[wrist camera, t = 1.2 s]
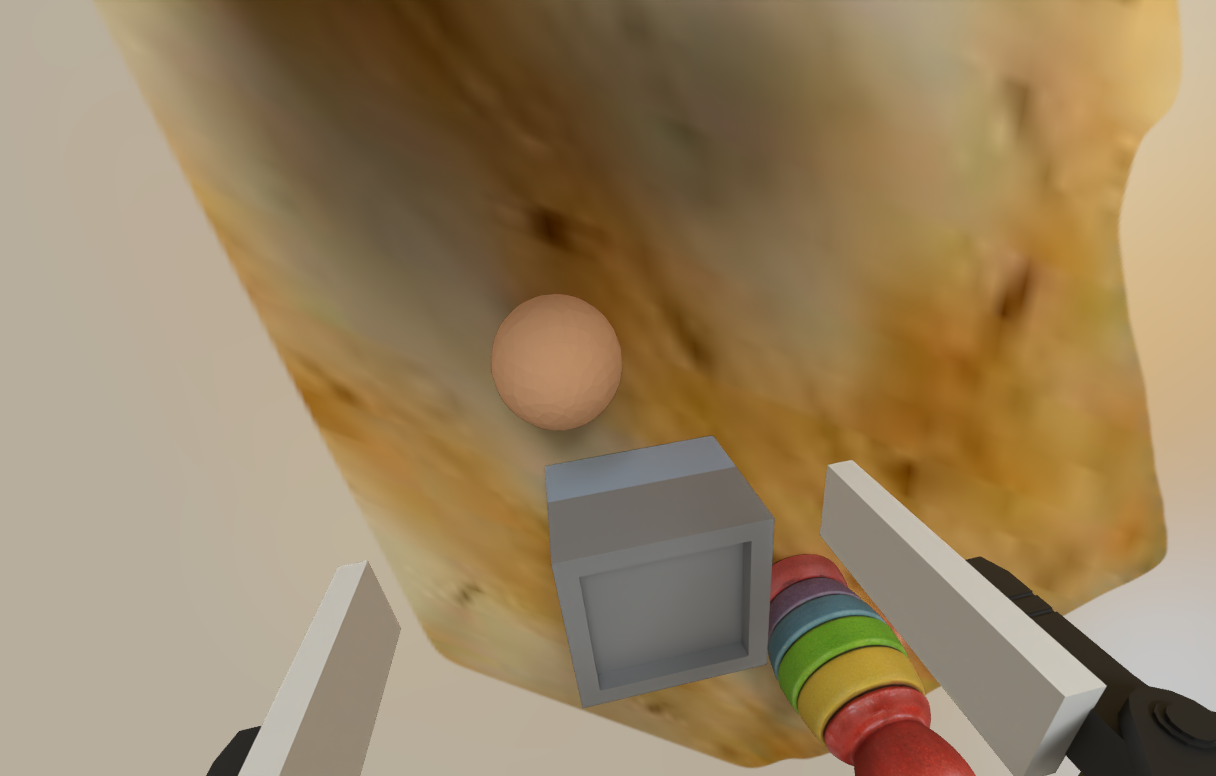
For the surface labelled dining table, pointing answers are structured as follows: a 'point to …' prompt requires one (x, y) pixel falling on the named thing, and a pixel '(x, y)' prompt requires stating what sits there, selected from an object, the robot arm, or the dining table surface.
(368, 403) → the dining table surface
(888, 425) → the dining table surface
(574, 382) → the egg
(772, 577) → the stacking bear
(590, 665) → the grey square tray
